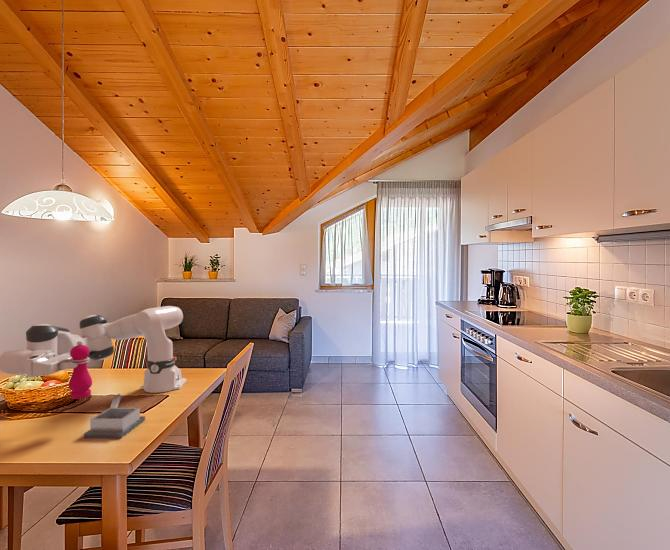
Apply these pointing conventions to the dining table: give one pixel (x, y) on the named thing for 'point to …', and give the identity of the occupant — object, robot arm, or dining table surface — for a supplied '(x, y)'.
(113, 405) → the adjustable wrench
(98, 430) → the socket stand
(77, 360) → the pepper mill
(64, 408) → the dining table surface
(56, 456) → the dining table surface
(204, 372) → the dining table surface
